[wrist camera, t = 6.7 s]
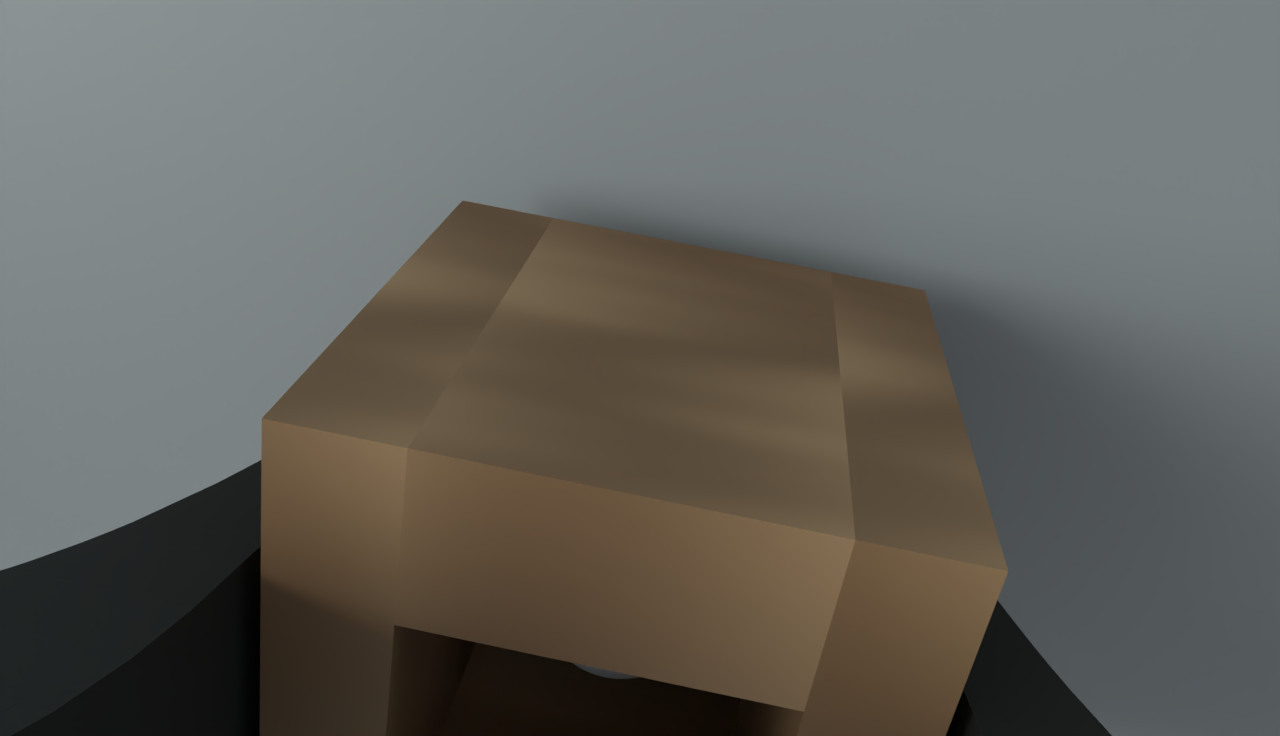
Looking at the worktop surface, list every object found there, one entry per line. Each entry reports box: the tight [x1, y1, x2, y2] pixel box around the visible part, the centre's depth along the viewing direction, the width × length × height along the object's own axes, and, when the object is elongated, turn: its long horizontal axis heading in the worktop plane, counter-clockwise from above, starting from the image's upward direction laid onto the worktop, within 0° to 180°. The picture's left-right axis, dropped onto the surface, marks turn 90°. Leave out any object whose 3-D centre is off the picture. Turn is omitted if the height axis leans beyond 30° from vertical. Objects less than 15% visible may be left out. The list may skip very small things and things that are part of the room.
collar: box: [260, 201, 1008, 736], centre depth 11 cm, size 5×6×5 cm
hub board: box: [0, 0, 1280, 736], centre depth 12 cm, size 20×14×5 cm
